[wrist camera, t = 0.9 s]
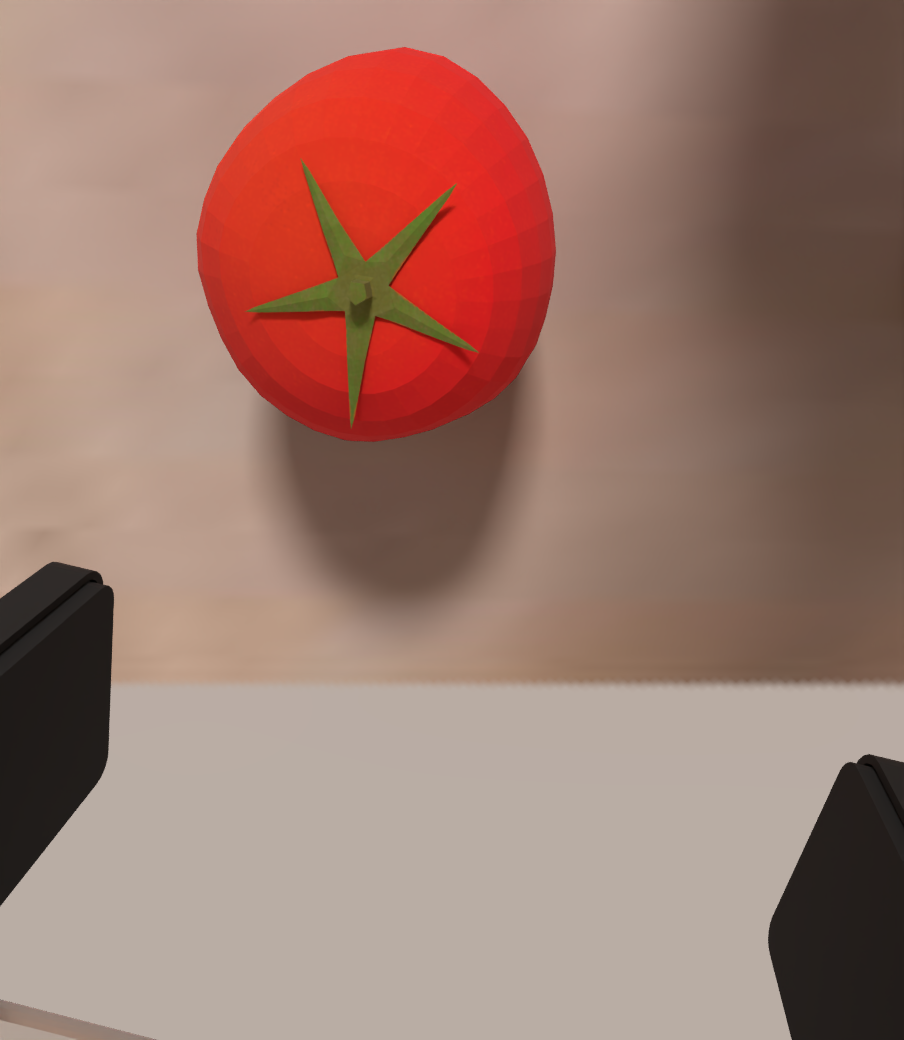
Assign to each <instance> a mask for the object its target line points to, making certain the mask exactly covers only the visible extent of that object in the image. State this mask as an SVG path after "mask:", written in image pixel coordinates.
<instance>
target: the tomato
mask: <svg viewBox="0 0 904 1040" xmlns="http://www.w3.org/2000/svg"><path fill="white" fill-rule="evenodd" d="M197 253H198V271H199V275H200V278H201V282H202V285H203V289H204V292H205V296H206V299H207V303H208V306H209V309H210V311H211V314H212V316H213V319H214V321H215V324H216V326H217V329H218V331H219V334H220V336H221V339H222V340H223V342H224V344H225V346H226V348H227V349H228V351H229V353H230V355H231V357H232V359H233V360H234V362H235V364H236V366H237V368H238V369H239V371H240V372H241V373H242V374H243V375H244V377H245V378H246V379H247V380H248V381H249V382H250V383H251V385H252V386H253V387H254V388H255V389H256V390H257V392H258V393H259V394H260V395H261V396H262V397H263V398H265V399H266V400H267V401H269V402H270V403H271V404H273V405H274V406H275V407H277V408H278V409H279V410H280V411H282V412H283V413H284V414H286V415H287V416H289V417H291V418H292V419H294V420H296V421H298V422H300V423H302V424H304V425H305V426H307V427H309V428H311V429H313V430H315V431H318V432H321V433H324V434H327V435H330V436H334V437H337V438H340V439H343V440H349V441H371V442H375V441H382V440H388V439H395V438H402V437H406V436H410V435H414V434H418V433H421V432H425V431H429V430H432V429H435V428H437V427H439V426H442V425H444V424H446V423H449V422H451V421H453V420H455V419H458V418H460V417H463V416H465V415H468V414H470V413H471V412H473V411H474V410H476V409H478V408H479V407H481V406H483V405H484V404H486V403H487V402H489V401H491V400H492V399H494V398H495V397H496V396H497V395H498V394H499V393H500V392H501V391H503V390H504V389H505V388H506V387H507V386H508V385H509V384H510V383H511V382H512V381H513V380H514V379H515V378H516V377H517V375H518V373H519V372H520V370H521V368H522V367H523V365H524V363H525V362H526V360H527V358H528V357H529V355H530V354H531V352H532V351H533V349H534V347H535V346H536V344H537V341H538V338H539V335H540V332H541V329H542V326H543V323H544V320H545V317H546V313H547V309H548V304H549V300H550V296H551V291H552V287H553V277H554V266H555V256H556V247H555V235H554V223H553V213H552V209H551V205H550V200H549V196H548V192H547V188H546V184H545V180H544V176H543V173H542V171H541V168H540V166H539V164H538V161H537V159H536V157H535V154H534V152H533V150H532V147H531V145H530V143H529V140H528V138H527V136H526V135H525V134H524V132H523V131H522V129H521V128H520V126H519V125H518V123H517V122H516V121H515V119H514V118H513V116H512V115H511V113H510V112H509V110H508V109H507V107H506V106H505V105H504V104H503V103H502V102H501V101H500V100H499V99H498V98H497V97H496V96H495V95H494V94H493V93H492V92H491V91H490V90H489V89H488V88H487V87H486V86H485V85H484V84H483V83H482V82H481V81H480V80H479V79H478V78H477V77H476V76H474V75H473V74H471V73H469V72H468V71H466V70H465V69H463V68H461V67H460V66H458V65H457V64H455V63H454V62H452V61H450V60H449V59H447V58H446V57H444V56H439V55H435V54H431V53H427V52H423V51H419V50H415V49H410V48H406V47H403V48H396V49H390V50H384V51H378V52H371V53H365V54H359V55H353V56H348V57H345V58H343V59H341V60H339V61H336V62H334V63H332V64H330V65H327V66H325V67H323V68H321V69H318V70H316V71H314V72H312V73H309V74H307V75H306V76H305V77H303V78H302V79H300V80H299V81H298V82H296V83H295V84H293V85H292V86H291V87H289V88H288V89H286V90H285V91H284V92H282V93H281V94H279V95H278V96H277V97H275V98H274V99H273V100H272V101H271V102H270V103H269V104H268V105H267V106H266V107H265V108H264V109H263V110H261V111H260V112H259V113H258V114H257V115H256V116H255V117H254V118H253V119H252V120H251V121H250V122H249V123H248V124H247V125H246V126H245V127H244V129H243V130H242V131H241V133H240V134H239V135H238V137H237V138H236V139H235V141H234V142H233V144H232V145H231V147H230V148H229V150H228V151H227V153H226V154H225V156H224V157H223V159H222V160H221V162H220V163H219V165H218V166H217V169H216V171H215V174H214V176H213V179H212V181H211V184H210V186H209V189H208V191H207V194H206V196H205V199H204V203H203V207H202V212H201V217H200V221H199V226H198V230H197Z"/></svg>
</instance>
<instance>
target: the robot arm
mask: <svg viewBox="0 0 904 1040" xmlns="http://www.w3.org/2000/svg"><path fill="white" fill-rule="evenodd" d="M113 608H114V594H113V590H112V588H111V587H110V586H107V585H103V580H102V577H101V575H100V574H99V573H98V572H97V571H93V570H88V569H84V568H80V567H76V566H71V565H67V564H63V563H59V562H51V563H49V564H47V565H46V566H44V567H43V568H41V569H40V570H39V571H37V572H36V573H35V574H33V575H32V576H30V577H29V578H28V579H26V580H25V581H24V582H22V583H21V584H20V585H18V586H17V587H15V588H14V589H13V590H11V591H10V592H9V593H7V594H6V595H4V596H3V597H2V598H0V905H2V903H3V902H4V901H5V899H6V898H7V897H8V896H9V894H10V893H11V892H12V891H13V889H14V888H15V887H16V885H17V884H18V883H19V882H20V880H21V879H22V878H23V877H24V875H25V874H26V873H27V872H28V870H29V869H30V868H31V867H32V865H33V864H34V863H35V861H36V860H37V859H38V858H39V856H40V855H41V854H42V853H43V851H44V850H45V849H46V847H47V846H48V845H49V844H50V842H51V841H52V840H53V839H54V837H55V836H56V835H57V833H58V832H59V831H60V830H61V828H62V827H63V826H64V825H65V823H66V822H67V821H68V819H69V818H70V817H71V816H72V814H73V813H74V812H75V811H76V809H77V808H78V807H79V805H80V804H81V803H82V802H83V801H84V799H85V798H86V797H87V795H88V794H89V793H90V791H91V790H92V789H93V788H94V787H95V785H96V784H97V783H98V781H99V779H100V778H101V776H102V773H103V771H104V769H105V766H106V762H107V758H108V745H109V717H110V690H111V663H112V635H113ZM768 943H769V951H770V956H771V960H772V963H773V968H774V972H775V975H776V979H777V983H778V987H779V991H780V995H781V999H782V1003H783V1007H784V1010H785V1014H786V1018H787V1023H788V1026H789V1030H790V1034H791V1038H792V1040H904V762H899V761H895V760H891V759H886V758H883V757H878V756H874V755H870V754H869V755H864V756H863V757H862V758H860V759H859V760H858V762H857V764H856V763H852V762H849V763H846V764H845V765H844V766H843V767H842V769H841V770H840V772H839V774H838V776H837V779H836V781H835V783H834V785H833V787H832V789H831V792H830V794H829V796H828V798H827V800H826V802H825V804H824V807H823V809H822V811H821V813H820V815H819V817H818V820H817V822H816V824H815V826H814V828H813V830H812V832H811V835H810V837H809V839H808V841H807V843H806V845H805V848H804V850H803V852H802V854H801V856H800V858H799V861H798V863H797V865H796V867H795V869H794V871H793V874H792V876H791V878H790V880H789V882H788V885H787V887H786V889H785V891H784V893H783V895H782V897H781V899H780V902H779V904H778V906H777V908H776V910H775V913H774V915H773V917H772V920H771V922H770V928H769V937H768ZM0 1040H155V1039H152V1038H148V1037H144V1036H140V1035H136V1034H132V1033H128V1032H125V1031H121V1030H117V1029H112V1028H109V1027H105V1026H101V1025H97V1024H93V1023H90V1022H86V1021H82V1020H78V1019H74V1018H70V1017H66V1016H63V1015H58V1014H55V1013H50V1012H47V1011H43V1010H39V1009H35V1008H31V1007H28V1006H24V1005H20V1004H16V1003H12V1002H8V1001H4V1000H1V999H0Z"/></svg>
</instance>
